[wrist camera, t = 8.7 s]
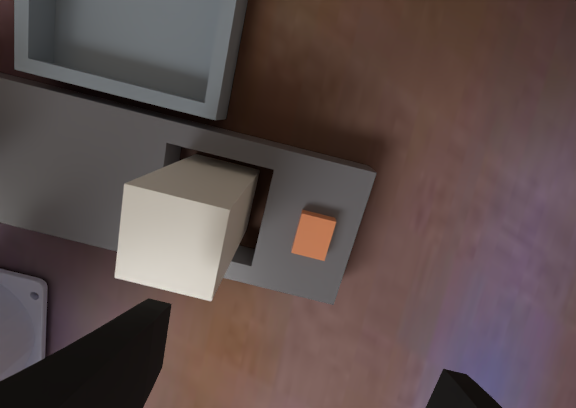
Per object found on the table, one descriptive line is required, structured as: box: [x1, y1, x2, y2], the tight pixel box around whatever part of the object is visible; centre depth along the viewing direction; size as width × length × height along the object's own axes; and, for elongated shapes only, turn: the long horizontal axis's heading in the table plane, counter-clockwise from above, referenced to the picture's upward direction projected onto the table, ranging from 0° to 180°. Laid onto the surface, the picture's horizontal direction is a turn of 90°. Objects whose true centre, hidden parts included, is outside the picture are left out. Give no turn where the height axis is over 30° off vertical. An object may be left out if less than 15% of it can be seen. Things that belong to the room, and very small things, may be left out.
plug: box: [115, 154, 260, 301], centre depth 14 cm, size 3×3×7 cm
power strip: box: [0, 72, 377, 305], centre depth 16 cm, size 7×25×3 cm, turn 76°
